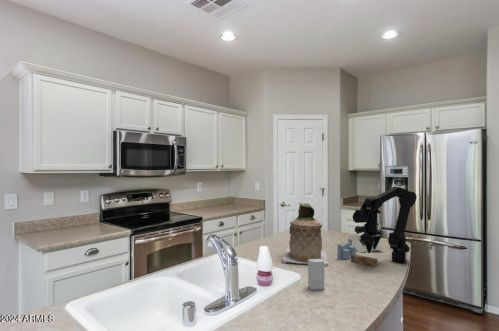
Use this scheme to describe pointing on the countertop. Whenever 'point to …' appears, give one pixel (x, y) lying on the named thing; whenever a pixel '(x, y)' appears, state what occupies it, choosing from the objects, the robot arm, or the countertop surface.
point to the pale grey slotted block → (361, 244)
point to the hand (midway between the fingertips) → (371, 251)
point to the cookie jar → (305, 238)
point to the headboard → (346, 250)
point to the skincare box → (316, 274)
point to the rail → (364, 260)
